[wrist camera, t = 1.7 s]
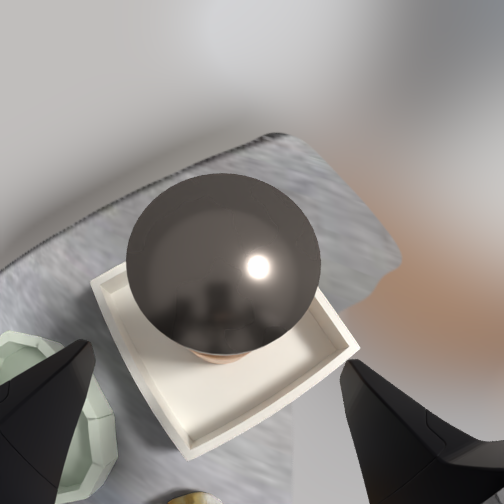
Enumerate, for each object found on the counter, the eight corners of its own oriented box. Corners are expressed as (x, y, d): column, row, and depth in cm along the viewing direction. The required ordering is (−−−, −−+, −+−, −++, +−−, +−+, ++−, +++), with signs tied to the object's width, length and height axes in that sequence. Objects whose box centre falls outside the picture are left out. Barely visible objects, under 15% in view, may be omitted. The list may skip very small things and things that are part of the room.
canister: (274, 338, 19) (356, 282, 8) (207, 379, 17) (186, 393, 6) (233, 276, 20) (252, 152, 9) (167, 312, 19) (101, 221, 7)
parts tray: (342, 352, 19) (360, 348, 17) (191, 449, 15) (187, 461, 13) (248, 218, 23) (252, 197, 21) (105, 294, 19) (89, 281, 16)
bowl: (150, 468, 14) (140, 482, 11) (40, 499, 10) (23, 508, 7) (68, 313, 18) (49, 303, 15) (-21, 368, 14) (-41, 364, 11)
